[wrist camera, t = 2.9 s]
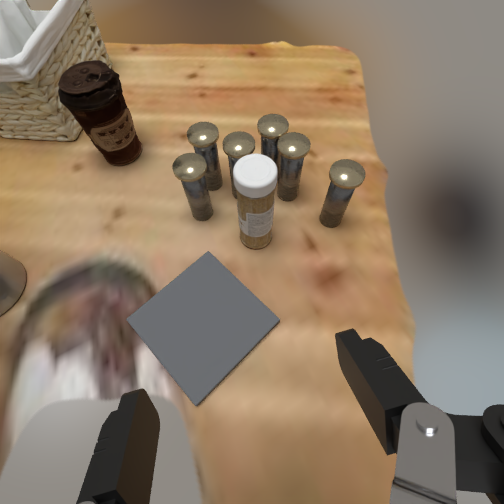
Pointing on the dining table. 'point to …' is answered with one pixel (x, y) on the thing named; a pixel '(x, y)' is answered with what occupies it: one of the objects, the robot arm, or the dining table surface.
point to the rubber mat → (202, 325)
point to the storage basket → (43, 66)
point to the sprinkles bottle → (255, 198)
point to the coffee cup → (100, 109)
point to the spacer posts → (273, 146)
